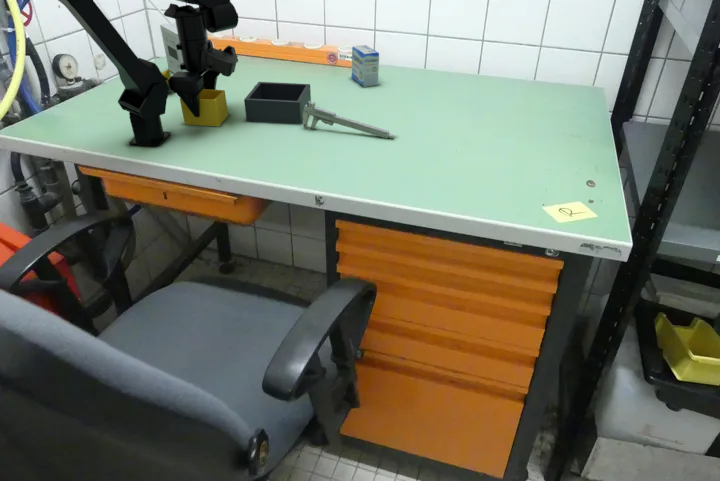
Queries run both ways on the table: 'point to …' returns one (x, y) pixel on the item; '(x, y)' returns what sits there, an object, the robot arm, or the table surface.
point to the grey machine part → (172, 47)
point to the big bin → (277, 102)
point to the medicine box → (365, 65)
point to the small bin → (207, 109)
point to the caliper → (339, 121)
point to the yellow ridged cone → (167, 76)
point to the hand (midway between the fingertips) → (204, 109)
